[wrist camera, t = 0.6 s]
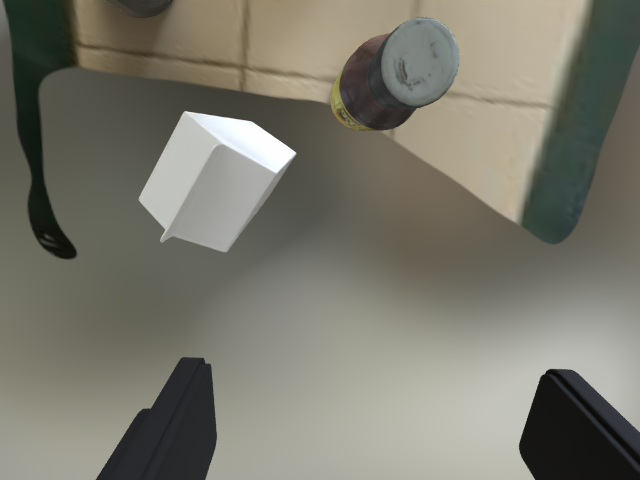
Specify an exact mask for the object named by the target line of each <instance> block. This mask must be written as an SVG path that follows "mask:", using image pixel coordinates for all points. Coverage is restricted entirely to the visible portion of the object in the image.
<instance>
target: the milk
mask: <svg viewBox="0 0 640 480" xmlns="http://www.w3.org/2000/svg"><path fill="white" fill-rule="evenodd" d="M295 155H296V152H294V151H293V150H291V149H290V148H289V147H287V146H286V145H284V144H283V143H282V142H280V141H279V140H277V139H276V138H274V137H273V136H271V135H270V134H269V133H267V132H266V131H264V130H263V129H261V128H260V127H259V126H257V125H256V124H254V123H253V122H251V121H244V120H238V119H232V118H225V117H219V116H212V115H206V114H199V113H193V112H186V111H185V112H184V113H183V114H182V116H181V119H180V120H179V122H178V124H177V126H176V128H175V130H174V132H173V134H172V136H171V138H170V139H169V141H168V143H167V145H166V147H165V149H164V151H163V153H162V155H161V157H160V159H159V160H158V162H157V164H156V166H155V168H154V170H153V172H152V174H151V176H150V178H149V180H148V182H147V184H146V186H145V188H144V189H143V191H142V193H141V195H140V197H139V201H140V203H141V204H142V205H143V206H144V207H145V208H146V209H147V210H148V211H149V212H150V213H151V215H152V216H154V218H155V219H156V220H157V221H158V222H159V223H160V224H161V225H162V226H163V227H164V229H165V232H164V233H163V235H162V237H161V239H160V242H161V243H163V242H164V241H165V240H167V239H168V238H170V237H171V236H174V237H177V238H180V239H183V240H186V241H189V242H193V243H196V244H199V245H202V246H205V247H209V248H212V249H215V250H218V251H221V252H227V251H228V250H229V248H230V247H231V246H232V245H233V243H234V242H235V241H236V239H237V238H238V237H239V235H240V234H241V233H242V231H243V230H244V229H245V227H246V226H247V225H248V223H249V222H250V221H251V220H252V218H253V217H254V216H255V214H256V213H257V212H258V210H259V209H260V208H261V206H262V205H263V204H264V202H265V201H266V200H267V198H268V197H269V196H270V194H271V193H272V191H273V190H274V188H275V186H276V185H277V183H278V182H279V180H280V179H281V177H282V175H283V174H284V173H285V171H286V169H287V168H288V166H289V165H290V163H291V162H292V160H293V159H294V157H295Z"/></svg>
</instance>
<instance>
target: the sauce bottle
mask: <svg viewBox="0 0 640 480" xmlns="http://www.w3.org/2000/svg"><path fill="white" fill-rule="evenodd" d="M458 66H459V51H458V46H457V43H456V41H455V38H454V35H453V34H452V33H451V32H450V30H449V29H448V28H447V27H446V26H445V25H444V24H442V23H441V22H439V21H437V20H435V19H430V18H414V19H411V20H409V21H406V22H404V23H403V24H401V25H400V26H399V27H397V28H396V29H395V30H394V31H393V32H392V33H390V34H385V35H380V36H376V37H374V38H371V39H369V40H368V41H366V42H365V43H363V44H362V45H361V46H360V47H359V48H358V49H357V50H356V52H354V53H353V54H352V56H351V57H350V58H349V59H348V61H347V62H346V64H345V66H344V67H343V69H342V71H341V72H340V74H339V75H338V77H337V78H336V80H335V82H334V84H333V87H332V90H331V97H330V101H331V107H332V110H333V113H334V115H335V117H336V118H337V120H338V121H339V122H340V123H341V124H343V125H344V126H346V127H348V128H350V129H353V130H359V131H360V130H361V131H365V130H369V131H373V130H389V129H393V128H395V127H398V126H400V125H401V124H403V123H404V122H405V121H406V120H407V119H408V118H409V117H410V116H411V115H412V113H413V112H414V111H415V110H416V108H421V107H423V106H426V105H428V104H431V103H433V102H435V101H437V100H438V99H440V98H441V97H442V96H443V95H444V94H445V93H446V91H447V90H448V89H449V88H450V86H451V85H452V83H453V81H454V78H455V76H456V74H457V71H458Z"/></svg>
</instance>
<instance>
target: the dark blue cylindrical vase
mask: <svg viewBox="0 0 640 480" xmlns="http://www.w3.org/2000/svg"><path fill="white" fill-rule="evenodd" d="M102 1H104V2H106V3H107V4H109V5H111V6H112V7H114V8H116V9H118V10H120V11H121V12H123V13H125V14H127V15H130V16H133V17H138V18H147V17H152V16H155V15H157V14H159V13H161V12H162V11H164V10H165V9H166V8H167V7H168V6H169V5H170V3H171V2H172V0H102Z"/></svg>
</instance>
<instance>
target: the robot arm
mask: <svg viewBox="0 0 640 480" xmlns="http://www.w3.org/2000/svg"><path fill="white" fill-rule="evenodd" d="M216 440H217V432H216V420H215V408H214V395H213V382H212V370H211V365H210V364H205V360H204V358H188V357H183V358H181V359H180V361H179V362H178V364H177V366H176V367H175V369H174V371H173V373H172V374H171V376H170V378H169V379H168V381H167V382H166V384H165V386H164V388H163V389H162V391H161V393H160V394H159V396H158V398H157V399H156V401H155V403H154V404H153V406H152V408H151V409H142V410H141V411H140V412H139V413H138V414H137V416H136V417H135V419H134V420H133V422H132V423H131V425H130V426H129V428H128V430H127V431H126V433H125V434H124V436H123V438H122V439H121V441H120V442H119V444H118V445H117V447H116V449H115V450H114V452H113V454H112V455H111V457H110V458H109V460H108V461H107V463H106V464H105V466H104V468H103V469H102V471H101V473H100V474H99V476H98V477H97V479H96V480H205V478H206V476H207V472H208V469H209V465H210V463H211V460H212V457H213V454H214V450H215V446H216ZM519 450H520V454H521V457H522V459H523V460H524V462H525V464H526V465H527V467H528V468H529V470H530V472H531V473H532V475H533V477H534V478H535V480H640V432H639V431H638V430H637V429H635V428H634V427H633V426H632V425H631V424H630V423H629V422H628V421H627V420H626V419H625V418H624V417H623V416H622V415H621V414H620V413H619V412H618V411H617V410H616V409H615V408H613V407H612V406H611V405H610V404H609V403H608V402H607V401H606V400H605V399H604V398H603V397H602V396H601V395H600V394H599V393H598V392H597V391H596V390H595V389H594V388H592V387H591V386H590V385H589V384H588V383H587V382H586V381H585V380H584V379H583V378H582V377H581V376H580V375H579V374H578V373H576V372H575V371H573V370H566V369H549V370H548V371H546V373H545V374H544V375H542V376H541V378H540V381H539V384H538V387H537V390H536V393H535V397H534V399H533V403H532V406H531V409H530V412H529V415H528V418H527V421H526V424H525V427H524V430H523V434H522V437H521V440H520V443H519Z"/></svg>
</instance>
